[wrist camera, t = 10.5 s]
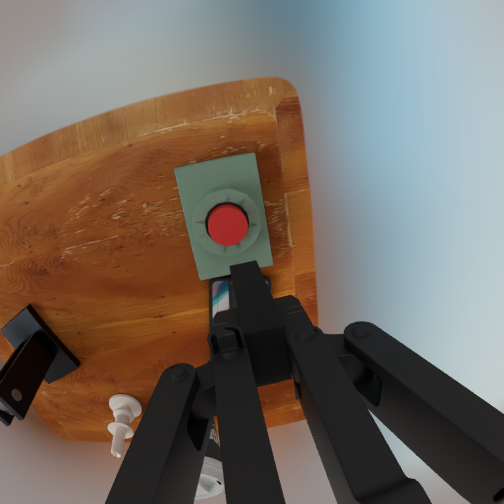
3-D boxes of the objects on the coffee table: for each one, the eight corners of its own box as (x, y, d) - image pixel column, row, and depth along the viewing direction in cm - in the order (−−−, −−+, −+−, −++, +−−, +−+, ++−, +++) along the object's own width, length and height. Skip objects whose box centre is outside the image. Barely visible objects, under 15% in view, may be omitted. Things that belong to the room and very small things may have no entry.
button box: (176, 167, 31) (172, 170, 27) (251, 152, 31) (258, 153, 28) (200, 272, 35) (200, 288, 31) (269, 257, 36) (277, 271, 32)
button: (204, 208, 29) (204, 212, 27) (242, 200, 29) (244, 204, 28) (212, 243, 30) (212, 249, 29) (248, 236, 31) (251, 241, 29)
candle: (114, 414, 41) (104, 465, 31) (105, 392, 39) (91, 445, 30) (145, 416, 42) (139, 468, 32) (137, 394, 40) (128, 449, 30)
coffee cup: (219, 422, 44) (229, 501, 30) (159, 420, 42) (155, 499, 28) (222, 380, 41) (233, 469, 27) (154, 378, 39) (143, 466, 25)
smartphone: (211, 378, 40) (209, 278, 34) (211, 374, 40) (208, 275, 35) (263, 375, 41) (272, 277, 36) (262, 372, 41) (271, 275, 36)
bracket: (3, 326, 33) (-41, 384, 20) (29, 303, 33) (-21, 365, 20) (51, 379, 37) (21, 444, 24) (80, 362, 37) (51, 435, 24)
